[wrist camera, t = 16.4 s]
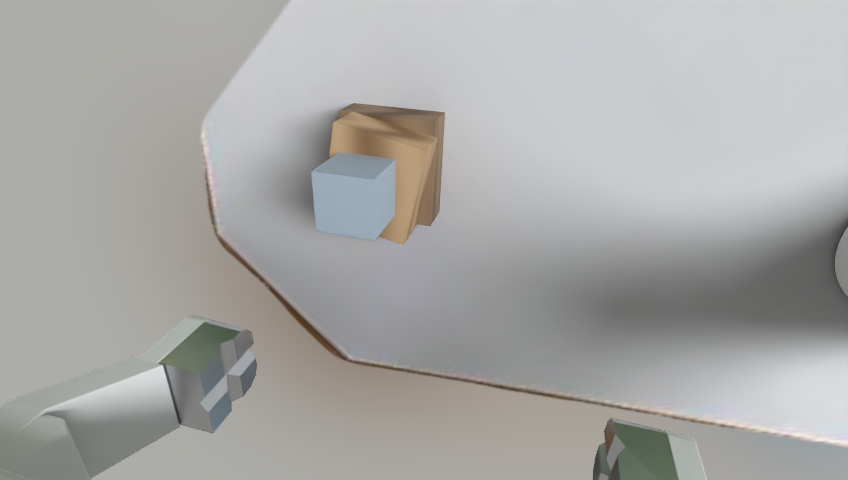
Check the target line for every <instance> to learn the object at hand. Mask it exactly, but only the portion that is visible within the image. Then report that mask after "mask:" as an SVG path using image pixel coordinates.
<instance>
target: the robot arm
mask: <svg viewBox="0 0 848 480" xmlns="http://www.w3.org/2000/svg"><path fill="white" fill-rule="evenodd" d="M835 272H836V277H837V280H838V283H839V285H840V287H841V288H842V290H843V292H844V293H845V294H846V295H847V297H848V227H847V228H846V230H845V232H844V233H843V235H842V237H841V239H840V242H839V244H838V247H837V251H836V256H835ZM252 345H253V337H252V332H251V331H249V330H247V329H243V328H240V327H236V326H232V325H229V324H225V323H221V322H218V321H214V320H209V319H205V318H202V317H198V316H194V315H193V316H189V317H186V318H185V319H184V320H183V321H181V322H180V323H179V324H178V325H177V326H175V327H174V328H173V329H172V330H171V331H169V332H168V333H167V334H166V335H165V336H163V337H162V338H161V339H160V340H159V341H157V342H156V343H155V344H154V345H153V346H151V347H150V348H149V349H148V350H147V351H145V352H144V353H143V354H142V355H141V356H139V357H138V358H136V357H129V358H127V359H124V360H121V361H118V362H115V363H112V364H109V365H107V366H104V367H101V368H98V369H95V370H92V371H90V372H87V373H84V374H81V375H78V376H76V377H73V378H70V379H67V380H64V381H61V382H59V383H56V384H53V385H50V386H47V387H44V388H42V389H39V390H36V391H33V392H30V393H28V394H25V395H22V396H19V397H16V398H14V399H11V400H9V401H7V402H6V403H5V404H3V405H2V406H0V480H91V478H92V477H94V476H96V475H98V474H99V473H101V472H103V471H104V470H106V469H108V468H109V467H111V466H113V465H115V464H117V463H118V462H120V461H122V460H123V459H125V458H127V457H129V456H130V455H132V454H134V453H135V452H137V451H139V450H141V449H142V448H144V447H146V446H148V445H149V444H151V443H153V442H154V441H156V440H158V439H159V438H161V437H163V436H164V435H166V434H168V433H170V432H171V431H173V430H175V429H177V428H178V427H179V426H180V425H184V426H187V427H191V428H195V429H198V430H202V431H206V432H210V433H214V431H215V430H216V429H217V428H218V427H219V425H220V424H221V423H222V422H223V421H224V419H225V418H226V417H227V416H228V414H229V413H230V412H231V411H232V410H231V409H232V408H231V407H232V401H234V400H237V399H239V398H240V397H243V396H244V395H245V393H246V392H247V391H248V390H249V388H250V387H251V385H252V382H253V380H254V378H255V376H256V369H257V362H256V357H255V356H254V354H253V353H252V352H251V351H250V349H249V348H250V347H251V346H252ZM179 424H180V425H179ZM604 432H605V443H603V444H601V445H599V447H598V450H597V454H596V457H595V463H594V469H593V480H707V478H706V475H705V471H704V468H703V465H702V461H701V458H700V454H699V451H698V448H697V445H696V442H695V440H694V439H693V438H692V437H691V436H687V435H682V434H678V433H674V432H670V431H665V430H664V431H663V430H661V429H656V428H652V427H648V426H643V425H639V424H635V423H631V422H627V421H622V420H618V419H614V418H610V420H609V421H608V422H607V425H606V428H605V431H604Z"/></svg>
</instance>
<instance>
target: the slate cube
mask: <svg viewBox="0 0 848 480" xmlns="http://www.w3.org/2000/svg"><path fill="white" fill-rule="evenodd" d="M311 177H312V189H313V201H314V213H315V225H316V231H320V232H326V233H332V234H338V235H344V236H350V237H356V238H362V239H368V240H374V241H375V240H376V239H377V237H378V236H379V235H380V233H381V232H382V231H383V230H384V228H385V227H386V226H387V225H388V223H389V222H390V221H391V219H392V218H393V217H394V216H395V189H396V159H391V158H382V157H374V156H366V155H358V154H350V153H342V152H339V153H337V154H336V155H334V156H333V157H331V158H330V159H328V160H327V161H325V162H324V163H323V164H321V165H320V166H318V167H317V168H315V169H314V170H312V171H311Z"/></svg>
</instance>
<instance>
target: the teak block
mask: <svg viewBox="0 0 848 480" xmlns="http://www.w3.org/2000/svg"><path fill="white" fill-rule="evenodd" d="M436 142H437V137H433V136H430V135H427V134H424V133H420V132H417V131H414V130H411V129H407V128H404V127H401V126H398V125H394V124H391V123H388V122H385V121H381V120H378V119H375V118H372V117H368V116H365V115H362V114H359V113H355V112H351V113H349V114H347V115H345V116H344V117H342V118H340V119H338V120H336V121H334V122H333V128H332V137H331V145H330V153H329V159H330V158H331V157H333V156H334V155H336V154H337V153H339V152H342V153H350V154H358V155H366V156H374V157H382V158H391V159H396V189H395V216H394V217H393V218H392V219H391V221H390V222H389V223H388V225H387V226H386V227H385V228H384V230H383V231H382V232H381V233H380V235H379V237H382V238H385V239H388V240H391V241H394V242H396V243H399V244H402V245H404V243H405V242H406V240H407V239H408V237H409V236H410V234H411V233H412V231H413V230H414V228H415V227H416V224H417V220H418V216H419V212H420V208H421V204H422V199H423V195H424V191H425V187H426V183H427V179H428V175H429V171H430V167H431V162H432V158H433V154H434V150H435V146H436Z"/></svg>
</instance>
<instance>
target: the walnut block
mask: <svg viewBox="0 0 848 480" xmlns="http://www.w3.org/2000/svg"><path fill="white" fill-rule="evenodd" d="M351 112H355V113H359V114H362V115H365V116H368V117H372V118H375V119H378V120H381V121H385V122H388V123H391V124H394V125H398V126H401V127H404V128H407V129H411V130H414V131H417V132H420V133H424V134H427V135H430V136H433V137H437V142H436V146H435V150H434V154H433V158H432V162H431V167H430V171H429V175H428V179H427V183H426V187H425V191H424V195H423V199H422V204H421V208H420V212H419V216H418V220H417V224H420V225H427V226H431V224H432V222H433V221H434V219H435V217H436V216H437V214H438V212H439V206H440V188H441V171H442V153H443V136H444V119H445V112H435V111H425V110H415V109H406V108H396V107H386V106H376V105H366V104H356V103H353V104H352V105H350V106H348V107H346V108H344V109H342V110H340V111H338V119H340V118H342V117H344V116H345V115H347V114H349V113H351Z"/></svg>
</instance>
